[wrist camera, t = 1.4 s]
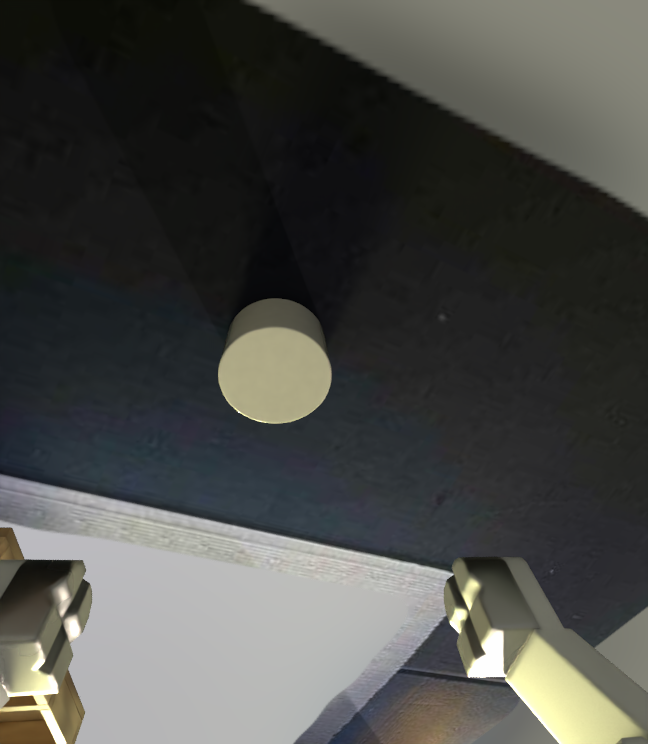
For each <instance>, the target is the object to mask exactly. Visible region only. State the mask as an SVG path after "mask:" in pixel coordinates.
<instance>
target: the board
mask: <svg viewBox="0 0 648 744" xmlns="http://www.w3.org/2000/svg"><path fill="white" fill-rule="evenodd" d="M0 560H25V559H24V557H23V554H22V552H21V549H20V547H19V544H18V542H17V539H16V537H15V534H14V532H13V529H12V528H0ZM9 698H10V699H9V701H8V702H7V703H6V704H5V705H4V706H3V707H2V708H1V709H0V744H75V741H76V738H77V735H78V732H79V729H80V726H81V723H82V720H83V718H84V714H85V711H84V709H83V706H82V703H81V701H80V699H79V696H78V693H77V691H76V688H75V686H74V683H73V681H72V678H71V676H70V673H69V671H68V669H67V672H66V674H65V677H64V679H63V682H62V684H61V686H60V689H59V691H58V693H52V694H37V695H23V696H9Z"/></svg>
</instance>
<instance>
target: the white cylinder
mask: <svg viewBox="0 0 648 744" xmlns="http://www.w3.org/2000/svg"><path fill="white" fill-rule="evenodd" d="M331 378H332V372H331V365H330V360H329V355H328V350H327V345H326V340H325V335H324V331H323V329H322V326H321V324H320V322H319V321H318V319H317V318H316V317H315V315H314V314H313V313H312V312H311V311H309V310H308V309H307V308H305V307H304V306H302V305H300V304H298V303H296V302H293V301H290V300H286V299H279V298H272V299H264V300H261V301H257V302H255V303H252V304H251V305H249V306H247V307H246V308H244V309H243V310H242V311H241V312H240V313H239V314H238V315H237V316H236V317H235V318H234V320H233V321H232V323H231V325H230V328H229V330H228V334H227V338H226V341H225V345H224V349H223V352H222V356H221V360H220V364H219V369H218V379H219V384H220V388H221V390H222V393H223V395H224V396H225V398H226V400H227V401H228V402H229V403H230V405H231V406H232V407H234V408H235V409H236V410H237V411H238V412H240V413H241V414H243V415H245V416H246V417H249V418H251V419H253V420H257V421H260V422H265V423H285V422H290V421H294V420H297V419H300V418H302V417H304V416H306V415H308V414H309V413H311V412H312V411H313V410H315V409H316V408H317V407H318V406H319V405H320V404H321V403H322V401H323V400H324V398H325V397H326V395H327V393H328V391H329V388H330V385H331Z"/></svg>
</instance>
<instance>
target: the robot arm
mask: <svg viewBox="0 0 648 744" xmlns="http://www.w3.org/2000/svg"><path fill="white" fill-rule="evenodd" d="M452 569H453V572H454V575H453V576H451V577H450V578H449V579H447V581H446V585H445V588H444V604H445V609H446V613H447V617H448V620H449V623H450V624H451V625H452V626H453V627H454V628H455V629H456V630H457V631H458V632H459V633H460V634H459V637H458V641H457V647H458V650H459V653H460V656H461V659H462V662H463V664H464V667H465V670H466V673H467V676H468V677H506V678H505V680H506V681H507V682H508V683H509V684H510V686H511V687H512V688H513V689H514V690H515V692H516V693H517V694H518V695H519V696H520V697H521V699H522V700H523V701H524V702H525V703H526V705H527V706H528V707H529V708H530V709H531V710H532V712H533V713H534V714H535V715H536V716H537V717H538V719H539V720H540V721H541V722H542V724H543V725H544V726H545V727H546V728H547V729H548V731H549V732H550V733H551V734H552V735H553V737H554V738H555V739H556V740H557V741H558V743H559V744H648V693H647V692H646V691H645V690H643V689H642V688H641V687H640V686H639V685H638V684H636V683H635V682H634V681H633V680H632V679H630V678H629V677H628V676H627V675H626V674H624V673H623V672H622V671H621V670H620V669H618V668H617V667H616V666H615V665H614V664H612V663H611V662H610V661H609V660H608V659H606V658H605V657H604V656H603V655H602V654H600V653H599V652H598V651H596V649H594V648H593V647H592V646H591V645H590V644H588V643H587V642H586V641H585V640H584V639H582V638H581V637H580V636H579V635H578V634H576V633H575V632H574V631H573V630H572V629H564V627H563V626H562V624H561V622H560V620H559V619H558V617H557V615H556V613H555V612H554V610H553V608H552V606H551V604H550V603H549V601H548V599H547V597H546V596H545V594H544V592H543V590H542V589H541V587H540V585H539V583H538V582H537V580H536V578H535V576H534V575H533V573H532V571H531V569H530V568H529V566H528V564H527V562H526V561H525V560H524V559H522V558H521V557H462V558H457V559H456V560H455V561H454V563H453V566H452ZM85 572H86V568H85V565H84V563H83V560H0V709H1V708H2V707H3V706H4V705H5V704H6V703H7V702H8V701H9V699H10V698H9V696H23V695H37V694H52V693H58V691H59V689H60V686H61V684H62V682H63V679H64V677H65V674H66V672H67V669H68V667H69V665H70V662H71V660H72V657H73V653H72V649H71V646H70V643H71V642H73V641H74V640H75V639H76V638H77V637H78V636H79V635H80V634H81V633H82V632H83V630H84V628H85V625H86V623H87V620H88V617H89V613H90V608H91V604H92V589H91V586H90V583H88V582H87V581H85V580H84V579H83V576H84V574H85Z"/></svg>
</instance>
